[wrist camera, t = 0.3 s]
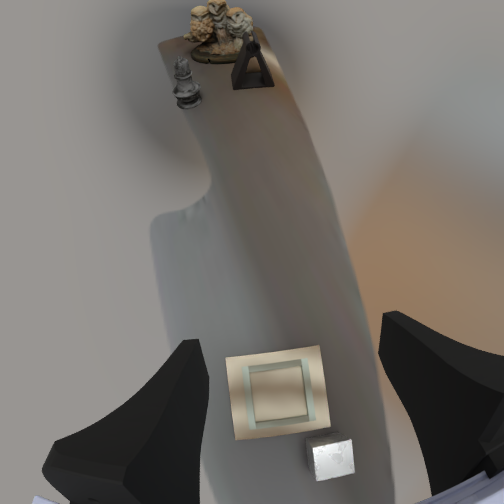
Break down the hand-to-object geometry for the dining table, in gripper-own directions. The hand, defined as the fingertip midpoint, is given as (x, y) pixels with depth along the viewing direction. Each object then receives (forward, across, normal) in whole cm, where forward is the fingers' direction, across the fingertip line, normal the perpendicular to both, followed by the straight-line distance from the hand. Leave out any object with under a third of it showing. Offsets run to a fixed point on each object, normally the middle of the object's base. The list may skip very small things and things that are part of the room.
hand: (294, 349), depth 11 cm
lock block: (+13, -5, +29) cm, 32 cm away
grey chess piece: (+57, +11, -19) cm, 61 cm away
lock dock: (+19, 0, +22) cm, 29 cm away
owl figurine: (+71, +3, -33) cm, 78 cm away
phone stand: (+61, -3, -22) cm, 65 cm away
